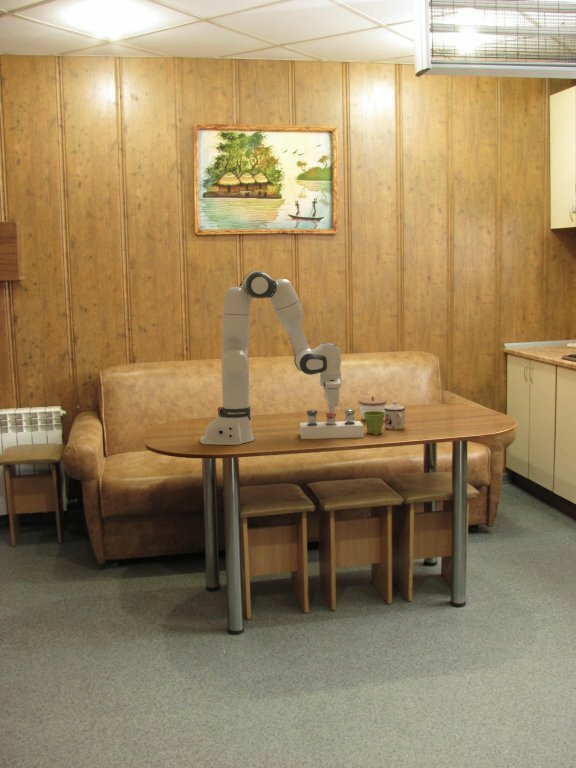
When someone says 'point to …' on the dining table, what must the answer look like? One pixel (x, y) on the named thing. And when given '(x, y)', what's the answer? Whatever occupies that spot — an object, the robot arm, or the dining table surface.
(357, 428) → the block
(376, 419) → the plant pot
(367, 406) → the lidded bowl
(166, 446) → the dining table surface
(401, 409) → the printed white mug
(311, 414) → the plug
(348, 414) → the plug
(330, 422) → the brick-red plug
